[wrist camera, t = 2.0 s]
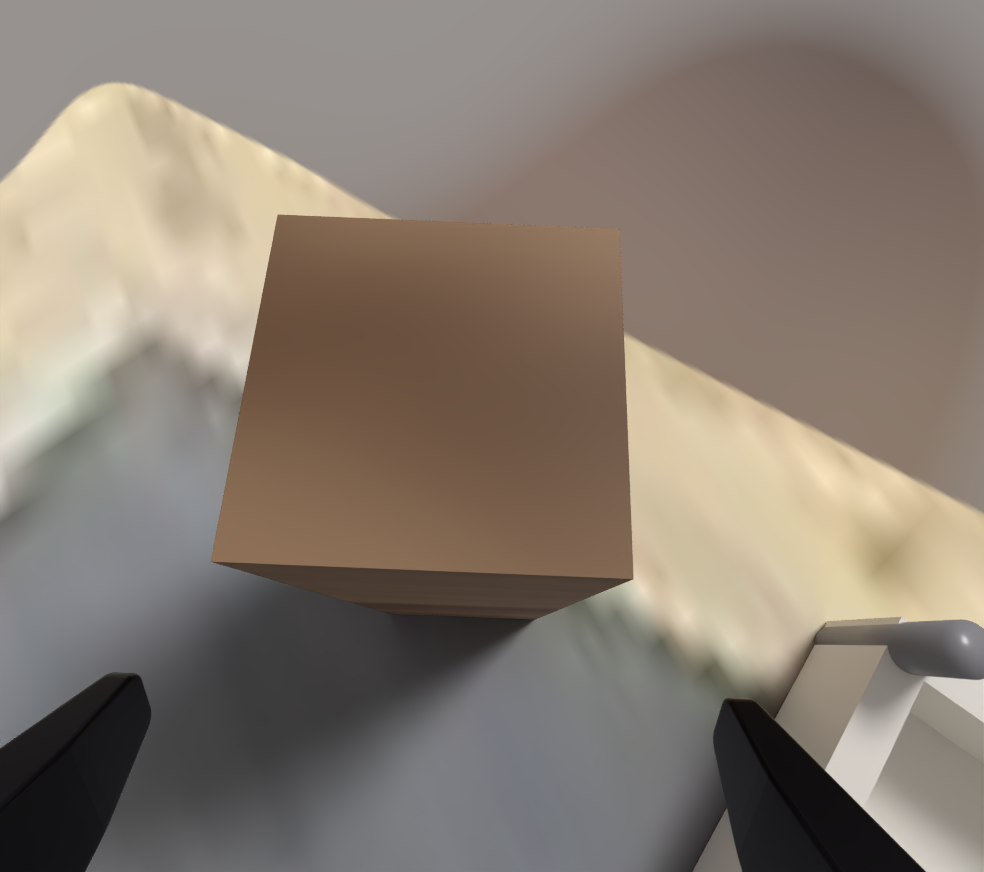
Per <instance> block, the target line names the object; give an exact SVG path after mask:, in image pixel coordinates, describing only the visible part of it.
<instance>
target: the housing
mask: <svg viewBox="0 0 984 872" xmlns="http://www.w3.org/2000/svg"><path fill="white" fill-rule="evenodd" d="M774 720H775V721H776V722H777V723H778V724H779V725H780V726H781V727H782V728H783V729H784V730H785V731H786V732H787V733H788V734H789V735H790V736H791V737H792V738H793V739H794V740H795V741H796V742H797V743H798V744H799V745H800V746H801V747H802V748H803V749H804V750H805V751H806V752H807V753H808V754H809V755H810V756H811V757H812V758H813V759H814V760H815V761H816V762H817V763H818V764H819V765H820V766H821V767H822V768H823V769H824V770H825V771H826V772H827V773H828V774H829V775H830V776H831V777H832V778H833V779H834V780H835V781H836V782H837V783H838V784H839V785H840V786H841V787H842V788H843V789H844V790H845V791H846V792H847V793H848V794H849V795H850V796H851V797H852V798H853V799H854V800H855V801H856V802H857V803H858V804H859V805H860V806H861V807H862V808H863V809H864V810H865V811H866V812H867V813H868V814H869V815H870V816H871V817H872V818H873V819H874V820H875V821H876V822H877V823H878V824H879V825H880V826H881V827H882V828H883V829H884V830H885V831H886V832H887V833H888V834H889V835H890V836H891V837H892V838H893V839H894V840H895V841H896V842H897V843H898V844H899V845H900V846H901V847H902V848H903V849H904V850H905V851H906V852H907V853H908V854H909V855H910V856H911V857H912V858H913V859H914V860H915V861H916V862H917V863H918V864H919V865H920V866H921V867H922V868H923V869H924V870H925V871H926V872H984V629H983V628H982V627H980V626H979V625H977V624H976V623H974V622H971V621H968V620H943V621H920V622H908V621H907V620H905V619H904V618H903V617H891V618H874V619H857V620H840V621H827V623H826V625H825V627H823V628H822V629H821V630H820V631H819V632H818V633H817V635H816V638H815V645H814V647H813V649H812V651H811V653H810V655H809V656H808V658H807V660H806V662H805V664H804V666H803V668H802V669H801V671H800V673H799V675H798V677H797V679H796V681H795V682H794V684H793V686H792V688H791V690H790V692H789V693H788V695H787V697H786V699H785V701H784V703H783V705H782V706H781V708H780V710H779V712H778V714H777V716H776V718H775V719H774ZM692 872H742V869H741V866H740V862H739V859H738V855H737V851H736V847H735V843H734V839H733V834H732V829H731V825H730V820H729V815H728V811H727V808H726V810H725V812H724V814H723V816H722V818H721V819H720V821H719V823H718V825H717V827H716V829H715V831H714V832H713V834H712V836H711V838H710V840H709V842H708V843H707V845H706V847H705V849H704V851H703V853H702V855H701V856H700V858H699V860H698V862H697V864H696V866H695V868H694V869H693V871H692Z"/></svg>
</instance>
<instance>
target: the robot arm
mask: <svg viewBox="0 0 984 872" xmlns="http://www.w3.org/2000/svg"><path fill="white" fill-rule="evenodd" d="M150 719H151V708H150V705H149V701H148V698H147V695H146V692H145V689H144V686H143V682H142V679H141V677H140V676H139V675H137V674H135V673H117V672H116V673H110V674H107V675H105V676H104V677H102V678H101V679H99V680H98V681H96V682H95V683H93V684H92V685H90V686H89V687H88V688H86V689H85V690H83V691H82V692H80V693H79V694H78V695H76V696H75V697H73V698H72V699H70V700H69V701H67V702H66V703H65V704H63V705H62V706H60V707H59V708H57V709H56V710H55V711H53V712H52V713H50V714H49V715H47V716H46V717H44V718H43V719H42V720H40V721H39V722H37V723H36V724H34V725H33V726H32V727H30V728H29V729H27V730H26V731H24V732H23V733H21V734H20V735H19V736H17V737H16V738H14V739H13V740H11V741H10V742H9V743H7V744H6V745H4V746H3V747H1V748H0V872H85V871H86V869H87V867H88V865H89V863H90V861H91V859H92V857H93V855H94V853H95V851H96V849H97V847H98V845H99V843H100V841H101V839H102V837H103V835H104V833H105V831H106V829H107V826H108V824H109V822H110V820H111V817H112V815H113V813H114V810H115V808H116V805H117V803H118V800H119V798H120V795H121V793H122V791H123V788H124V786H125V783H126V781H127V778H128V776H129V773H130V771H131V768H132V766H133V764H134V761H135V759H136V756H137V754H138V751H139V749H140V746H141V744H142V741H143V739H144V737H145V734H146V732H147V729H148V727H149V723H150ZM713 743H714V750H715V755H716V760H717V764H718V769H719V774H720V778H721V783H722V787H723V792H724V797H725V801H726V806H727V811H728V815H729V820H730V825H731V829H732V834H733V839H734V843H735V847H736V851H737V855H738V859H739V862H740V866H741V869H742V872H926V871H925V870H924V869H923V868H922V867H921V866H920V865H919V864H918V863H917V862H916V861H915V860H914V859H913V858H912V857H911V856H910V855H909V854H908V853H907V852H906V851H905V850H904V849H903V848H902V847H901V846H900V845H899V844H898V843H897V842H896V841H895V840H894V839H893V838H892V837H891V836H890V835H889V834H888V833H887V832H886V831H885V830H884V829H883V828H882V827H881V826H880V825H879V824H878V823H877V822H876V821H875V820H874V819H873V818H872V817H871V816H870V815H869V814H868V813H867V812H866V811H865V810H864V809H863V808H862V807H861V806H860V805H859V804H858V803H857V802H856V801H855V800H854V799H853V798H852V797H851V796H850V795H849V794H848V793H847V792H846V791H845V790H844V789H843V788H842V787H841V786H840V785H839V784H838V783H837V782H836V781H835V780H834V779H833V778H832V777H831V776H830V775H829V774H828V773H827V772H826V771H825V770H824V769H823V768H822V767H821V766H820V765H819V764H818V763H817V762H816V761H815V760H814V759H813V758H812V757H811V756H810V755H809V754H808V753H807V752H806V751H805V750H804V749H803V748H802V747H801V746H800V745H799V744H798V743H797V742H796V741H795V740H794V739H793V738H792V737H791V736H790V735H789V734H788V733H787V732H786V731H785V730H784V729H783V728H782V727H781V726H780V725H779V724H778V723H777V722H776V721H775V720H774V718H773V717H772V716H771V715H770V714H769V713H768V712H767V711H766V710H765V709H764V708H763V707H762V706H761V705H760V704H759V703H757V702H756V701H755V700H753V699H751V698H742V697H727V698H726V699H725V700H724V701H723V703H722V706H721V710H720V713H719V716H718V720H717V723H716V726H715V730H714V735H713Z"/></svg>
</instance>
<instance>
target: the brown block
mask: <svg viewBox="0 0 984 872" xmlns="http://www.w3.org/2000/svg"><path fill="white" fill-rule="evenodd" d="M621 279H622V277H621V252H620V229H608V228H584V227H560V226H536V225H535V226H534V225H512V224H488V223H464V222H440V221H416V220H392V219H369V218H344V217H321V216H297V215H278V216H277V221H276V226H275V231H274V237H273V242H272V247H271V252H270V257H269V262H268V268H267V273H266V278H265V283H264V288H263V293H262V299H261V304H260V309H259V314H258V319H257V324H256V330H255V335H254V340H253V345H252V350H251V355H250V361H249V366H248V371H247V376H246V381H245V387H244V392H243V397H242V402H241V407H240V412H239V418H238V423H237V428H236V433H235V438H234V443H233V449H232V454H231V459H230V464H229V469H228V474H227V480H226V485H225V490H224V495H223V500H222V505H221V511H220V516H219V521H218V526H217V531H216V536H215V542H214V547H213V552H212V557H211V562H214V563H217V564H220V565H224V566H227V567H231V568H234V569H238V570H241V571H245V572H248V573H251V574H255V575H258V576H262V577H265V578H269V579H272V580H275V581H279V582H282V583H286V584H289V585H293V586H296V587H300V588H303V589H306V590H310V591H313V592H317V593H320V594H324V595H327V596H330V597H334V598H337V599H341V600H344V601H348V602H351V603H355V604H358V605H361V606H365V607H368V608H372V609H375V610H379V611H382V612H385V613H389V614H412V615H436V616H461V617H485V618H510V619H534V620H535V619H537V618H540V617H542V616H545V615H547V614H550V613H552V612H554V611H557V610H559V609H562V608H564V607H567V606H569V605H571V604H574V603H576V602H579V601H581V600H584V599H586V598H588V597H591V596H593V595H596V594H598V593H601V592H603V591H605V590H608V589H610V588H613V587H615V586H618V585H620V584H623V583H625V582H627V581H630V580H632V579H633V556H632V530H631V505H630V480H629V455H628V429H627V404H626V379H625V353H624V328H623V303H622V280H621Z"/></svg>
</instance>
